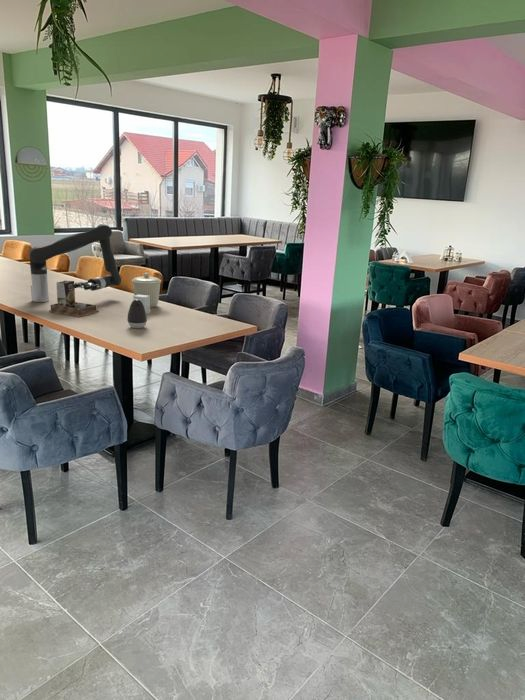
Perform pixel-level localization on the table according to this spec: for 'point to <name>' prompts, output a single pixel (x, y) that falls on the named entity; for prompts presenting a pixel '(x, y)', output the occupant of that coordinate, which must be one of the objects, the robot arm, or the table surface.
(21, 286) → the table surface
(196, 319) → the table surface
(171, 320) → the table surface
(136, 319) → the black and white dome
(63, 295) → the coffee box
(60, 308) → the caddy
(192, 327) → the table surface
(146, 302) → the small box
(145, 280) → the canister
